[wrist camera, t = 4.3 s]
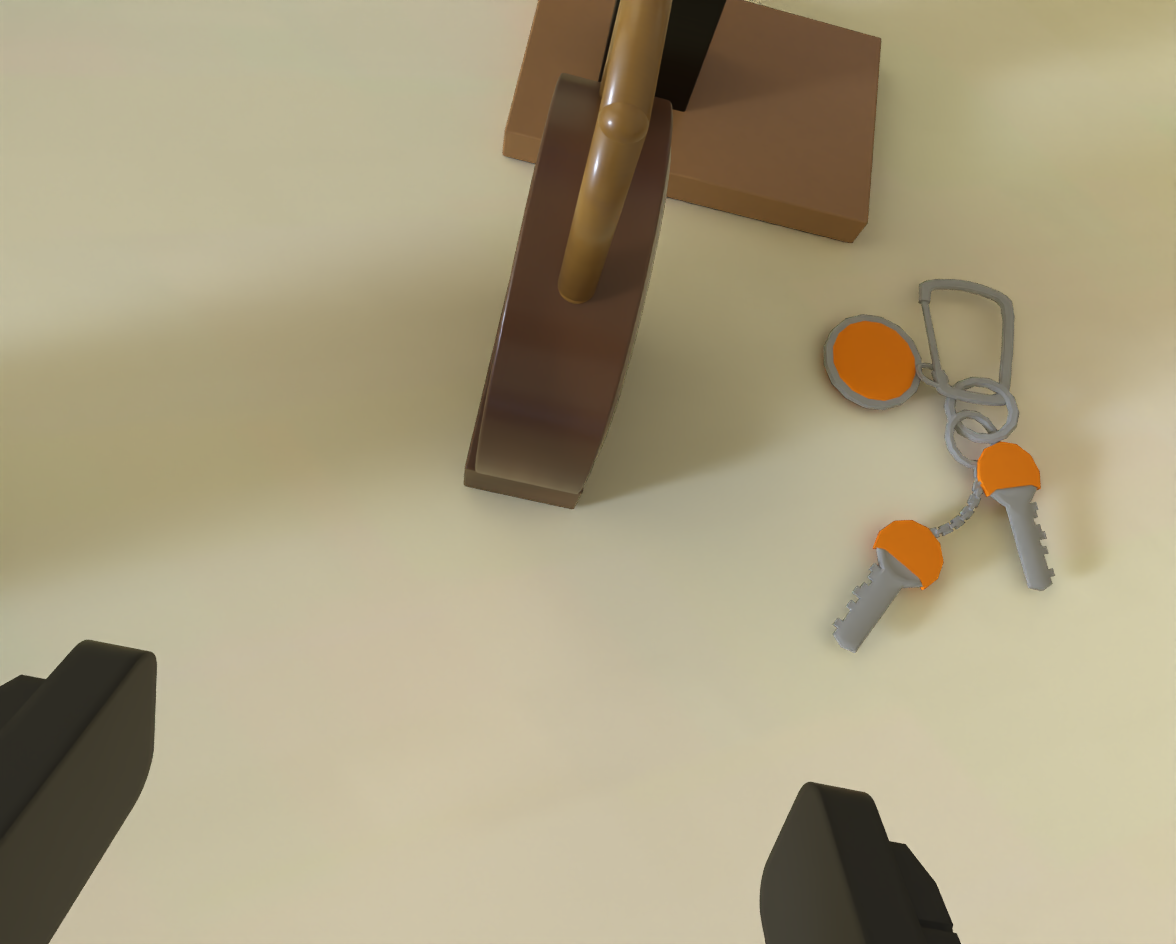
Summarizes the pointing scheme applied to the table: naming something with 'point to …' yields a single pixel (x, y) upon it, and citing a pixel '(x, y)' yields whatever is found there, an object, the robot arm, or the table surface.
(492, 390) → the clock
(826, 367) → the key chain
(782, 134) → the stand
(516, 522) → the table surface
